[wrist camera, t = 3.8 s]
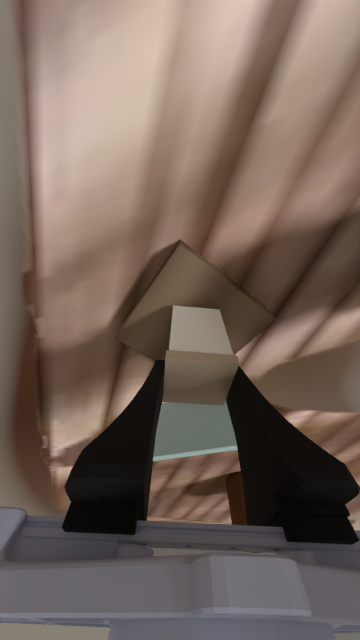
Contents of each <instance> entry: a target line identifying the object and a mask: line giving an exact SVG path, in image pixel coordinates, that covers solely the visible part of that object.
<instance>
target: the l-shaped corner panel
mask: <svg viewBox="0 0 360 640" xmlns="http://www.w3.org/2000/svg"><path fill="white" fill-rule="evenodd" d="M231 450H238V449H237V443H236V438H235V433H234V430H233V426H232V422H231V418H230V414H229V410H228V407H227V403H226V401H225V403H224V406H220V405H205V404H190V403H175V402H169V403H164V404H162V405H161V410H160V415H159V420H158V425H157V431H156V437H155V446H154V455H153V461H157V460H164V459H172V458H179V457H187V456H194V455H202V454H209V453H217V452H224V451H231Z"/></svg>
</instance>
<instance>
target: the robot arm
mask: <svg viewBox="0 0 360 640" xmlns="http://www.w3.org/2000/svg"><path fill="white" fill-rule="evenodd" d="M164 375H165V360H156V361H155V363H154V366H153V368H152V370H151V372H150V374H149V376H148V377H147V379H146V381H145V382H144V384H143V386H142V387H141V389H140V390H139V391H138V393H137V394H136V396H135V397H134V398H133V400H132V401H131V402H130V403H129V405H128V406H127V407H126V408H125V409H124V411H123V412H122V413H121V414H120V415H119V416H118V417H117V418H116V419H115V420H114V421H113V422H112V423H111V424H110V425H109V426H108V427H107V428H106V429H105V430H104V431H103V432H102V433H101V434H100V435H99V436H98V437H97V438H95V439H94V440H93V441H92V442H91V443H90V444H89V445H87V446H86V447H85V448H84V449H83V451H82V452H81V454H80V455H79V457H78V459H77V460H76V462H75V464H74V466H73V468H72V470H71V472H70V475H69V477H68V480H67V482H66V484H65V490H66V493H67V495H68V497H69V499H70V500H71V504H70V506H69V509H68V512H67V514H66V517H56V516H35V515H27V512H26V511H25V510H24V509H21V508H16V507H0V623H22V624H44V625H47V624H48V625H68V626H90V627H110V631H109V637H108V640H336V638H335V635H334V633H360V531H355V530H354V529H353V527H352V525H351V523H350V521H349V519H348V518H347V516H350V513H349V511H348V509H347V508H346V506H345V504H346V503H348V502H349V501H350V500H352V499H353V498H355V497H356V496H357V495H358V494H359V491H360V488H359V486H358V484H357V482H356V481H355V479H354V478H353V476H352V475H351V473H350V471H349V470H348V468H347V467H346V465H345V464H344V463H342V462H341V461H339V460H338V459H336V458H335V457H334V456H332V455H331V454H329V453H328V452H326V451H325V450H323V449H322V448H321V447H319V446H318V445H317V444H315V443H314V442H313V441H311V440H310V439H309V438H307V437H306V436H305V435H304V434H302V433H301V432H300V431H299V430H298V429H297V428H295V427H294V426H293V425H292V424H291V423H290V422H288V421H287V420H286V419H285V418H284V417H283V416H282V415H281V414H280V413H279V412H278V411H277V410H276V409H275V408H274V407H273V406H272V405H271V404H270V403H269V402H268V401H267V400H266V399H265V398H264V396H263V395H262V394H261V393H260V392H259V391H258V389H257V388H256V387H255V386H254V384H253V383H252V382H251V381H250V379H249V378H248V377H247V376H246V374H245V373H244V372H243V370H242V369H241V368H240V367H239V366H238V369H237V371H236V374H235V376H234V379H233V381H232V384H231V387H230V389H229V392H228V395H227V397H226V403H227V407H228V410H229V414H230V418H231V422H232V426H233V430H234V433H235V438H236V443H237V449H238V455H239V461H240V468H241V475H242V483H243V490H244V499H245V508H246V518H247V525H227V524H205V523H184V522H163V521H147V512H148V502H149V493H150V483H151V474H152V465H153V455H154V446H155V437H156V431H157V425H158V420H159V415H160V410H161V405H162V400H163V392H164ZM146 547H153V548H176V549H200V550H222V551H223V550H224V551H246V552H270V553H277V554H254V553H229V552H210V553H205V554H191V555H170V556H153V554H154V551H153V550H152V549H151V548H146Z"/></svg>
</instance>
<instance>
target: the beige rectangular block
mask: <svg viewBox="0 0 360 640" xmlns="http://www.w3.org/2000/svg"><path fill="white" fill-rule="evenodd" d="M238 366H239V360H238V357H237V356H236V355H233V352H232V349H231V345H230V342H229V339H228V335H227V332H226V329H225V326H224V322H223V319H222V316H221V312H220V309H208V308H197V307H185V306H173V312H172V322H171V333H170V343H169V350H166V357H165V375H164V392H163V402H175V403H190V404H205V405H220V406H224V403H225V401H226V397H227V395H228V392H229V389H230V387H231V384H232V381H233V379H234V376H235V374H236V371H237V369H238Z"/></svg>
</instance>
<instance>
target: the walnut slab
mask: <svg viewBox="0 0 360 640" xmlns="http://www.w3.org/2000/svg"><path fill="white" fill-rule="evenodd" d="M173 306H185V307H197V308H208V309H220V312H221V316H222V319H223V322H224V326H225V329H226V332H227V335H228V339H229V342H230V345H231V349H232V352H233V355H235V354H236V353H237V352H238V351H239V350H241V349H242V348H243V347H244V346H245V345H246V344H247V343H249V342H250V341H251V340H252V339H253V338H254V337H255V336H257V335H258V334H259V333H260V332H261V331H262V330H263V329H265V328H266V327H267V326H268V325H269V324H270V323H271V322H273V321H274V320H275V317H274V316H273V315H272V314H271V313H270V312H269V310H268V309H267V308H266V307H265V306H264V305H263V304H261V303H260V302H259V301H257V300H256V299H255V298H254V297H252V296H251V295H250V294H249V293H247V292H246V291H245V290H244V289H242V288H241V287H240V286H238V285H237V284H236V283H235V282H233V281H232V280H231V279H230V278H228V277H227V276H226V275H225V274H223V273H222V272H221V271H219V270H218V269H217V268H216V267H214V266H213V265H212V264H211V263H209V262H208V261H207V260H206V259H204V258H203V257H202V256H201V255H199V254H198V253H197V252H195V251H194V250H193V249H192V248H190V247H189V246H188V245H187V244H185V243H184V242H183V241H182V240H180V241H179V242H178V244H177V245H176V246H175V248H174V249H173V251H172V252H171V254H170V255H169V257H168V258H167V260H166V261H165V263H164V264H163V266H162V267H161V269H160V270H159V271H158V273H157V274H156V276H155V277H154V279H153V280H152V282H151V283H150V285H149V286H148V288H147V289H146V291H145V292H144V293H143V295H142V296H141V298H140V299H139V301H138V302H137V304H136V305H135V307H134V308H133V310H132V311H131V313H130V314H129V315H128V317H127V318H126V320H125V321H124V323H123V324H122V326H121V328H120V330H119V332H118V334H117V336H116V337H115V339H116V340H118V341H120V342H122V343H124V344H126V345H127V346H129V347H131V348H133V349H135V350H137V351H139V352H140V353H142V354H144V355H146V356H148V357H150V358H152V359H154V360H155V361H156V360H165V357H166V350H169V343H170V333H171V322H172V312H173Z"/></svg>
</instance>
